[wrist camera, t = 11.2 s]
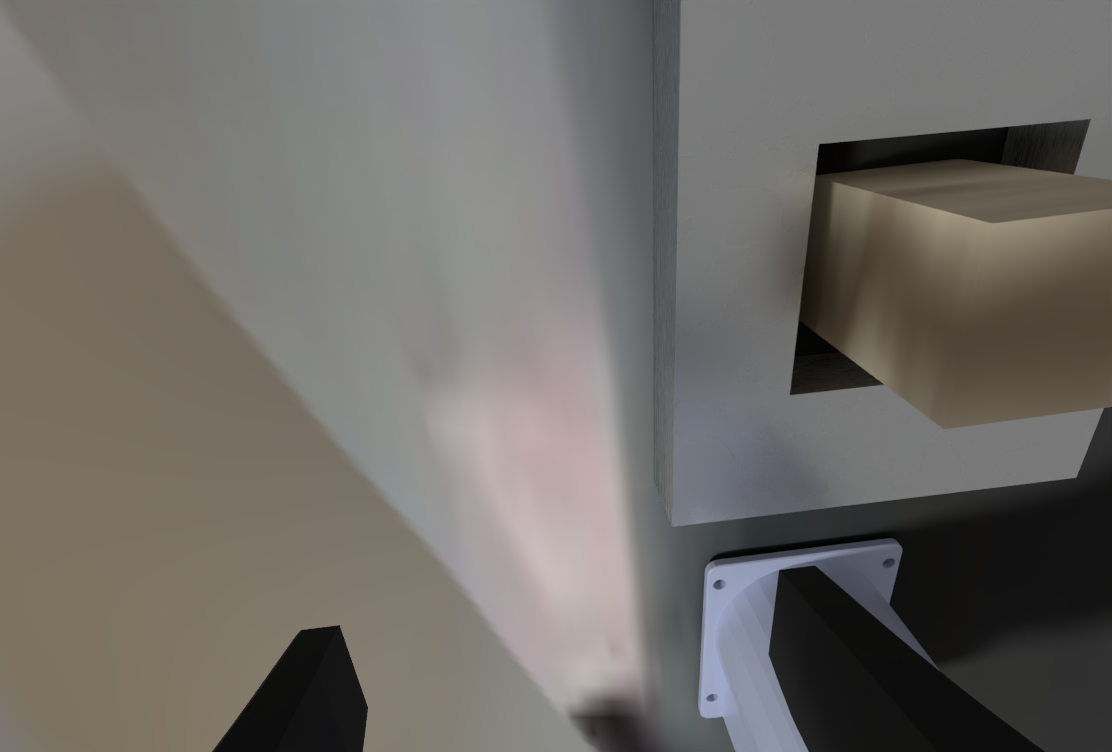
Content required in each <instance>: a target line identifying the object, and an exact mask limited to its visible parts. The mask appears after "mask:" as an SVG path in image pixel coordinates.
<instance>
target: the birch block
mask: <svg viewBox="0 0 1112 752" xmlns="http://www.w3.org/2000/svg"><path fill="white" fill-rule="evenodd" d="M799 321H801V322H802V323H803V324H805V325H806V326H807V327H809V328H810V329H811V330H812V331H814V332H815V333H816V334H818V335H819V336H820V337H822V338H823V339H824V340H826V341H827V342H828V343H830V344H831V345H832V346H834V347H835V348H836V349H838V350H839V351H840V352H842V353H843V354H844V355H846V356H847V357H848V358H850V359H851V360H852V361H854V362H855V363H856V364H858V365H859V366H860V367H862V368H863V369H864V370H866V371H867V372H868V373H870V374H871V375H872V376H874V377H875V378H876V379H878V380H879V381H880V382H882V383H883V384H884V385H886V386H887V387H888V388H890V389H891V390H892V391H894V392H895V393H896V394H898V395H899V396H900V397H902V398H903V399H904V400H906V401H907V402H908V403H909V404H911V405H912V406H913V407H915V408H916V409H917V410H919V411H920V412H921V413H923V414H924V415H925V416H927V417H928V418H929V419H931V420H932V421H933V422H935V423H936V424H937V425H939V426H940V427H941V428H943V429H950V428H958V427H965V426H973V425H980V424H987V423H995V422H1002V421H1010V420H1017V419H1024V418H1032V417H1039V416H1047V415H1054V414H1062V413H1069V412H1076V411H1084V410H1091V409H1099V408H1106V407H1112V180H1108V179H1101V178H1094V177H1087V176H1080V175H1072V174H1065V173H1058V172H1051V171H1044V170H1036V169H1029V168H1022V167H1015V166H1008V165H1000V164H993V163H986V162H979V161H972V160H965V159H951V160H943V161H934V162H926V163H917V164H909V165H900V166H892V167H883V168H875V169H866V170H858V171H850V172H841V173H833V174H824V175H816V176H815V183H814V191H813V200H812V208H811V217H810V226H809V234H808V243H807V251H806V260H805V268H804V277H803V286H802V294H801V303H800V311H799Z"/></svg>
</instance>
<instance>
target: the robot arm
mask: <svg viewBox="0 0 1112 752" xmlns="http://www.w3.org/2000/svg"><path fill="white" fill-rule="evenodd" d="M901 555H902V547H901V545H900V544H899V543H898V542H897V541H896V540H895V539H892V538H887V539H878V540H870V541H862V542H854V543H846V544H838V545H830V546H822V547H814V548H806V549H798V550H790V551H782V552H774V553H766V554H758V555H750V556H742V557H734V558H726V559H718V560H714V561H712V562H710V563H709V564H708V565H707V566H706V569H705V580H704V600H703V620H702V640H701V660H700V680H699V700H698V707H699V711H700V714H701V715H702V716H703V717H705V718H715V717H722V716H723V718H724V721H725V724H726V726H727V729H728V732H729V735H730V738H731V740H732V743H733V746H734V749H735V751H736V752H1044V751H1043V750H1042V749H1040V748H1039V747H1038V746H1036V745H1035V744H1033V743H1032V742H1031V741H1029V740H1028V739H1027V738H1025V737H1024V736H1023V735H1021V734H1020V733H1019V732H1017V731H1016V730H1015V729H1013V728H1012V727H1011V726H1009V725H1008V724H1007V723H1005V722H1004V721H1003V720H1002V719H1000V718H999V717H998V716H996V715H995V714H994V713H992V712H991V711H990V710H988V709H987V708H986V707H984V706H983V705H982V704H981V703H979V702H978V701H977V700H975V699H974V698H973V697H972V696H970V695H969V694H968V693H967V692H965V691H964V690H963V689H961V688H960V687H959V686H958V685H956V684H955V683H954V682H953V681H952V680H950V679H949V678H948V677H947V676H945V675H944V674H943V673H942V672H940V670H939V669H938V668H937V666H936V665H935V664H934V662H933V661H932V660H931V658H930V657H929V656H928V655H927V653H926V652H925V651H924V649H923V648H922V647H921V645H920V644H919V643H918V641H917V640H916V639H915V638H914V636H913V635H912V634H911V632H910V631H909V630H908V628H907V627H906V626H905V624H904V623H903V622H902V621H901V619H900V618H899V617H898V615H897V614H896V613H895V611H894V610H893V609H892V608H891V606H890V605H889V603H890V599H891V595H892V591H893V587H894V583H895V579H896V575H897V571H898V567H899V563H900V559H901ZM717 580H720V581H718V582H716V581H717ZM367 711H368V707H367V704H366V701H365V698H364V695H363V692H362V689H361V686H360V683H359V681H358V678H357V675H356V672H355V669H354V666H353V663H352V660H351V657H350V654H349V651H348V649H347V646H346V643H345V640H344V637H343V634H342V631H341V629H340V626H331V627H323V628H315V629H307V630H301V631H300V632H299V633H298V634H297V635H296V637H295V638H294V639H293V641H292V642H291V644H290V645H289V646H288V648H287V649H286V651H285V652H284V653H283V655H282V656H281V658H280V659H279V661H278V662H277V663H276V665H275V666H274V668H273V669H272V670H271V672H270V673H269V675H268V676H267V677H266V679H265V680H264V682H263V683H262V684H261V686H260V687H259V689H258V690H257V691H256V693H255V694H254V696H253V697H252V698H251V700H250V701H249V703H248V704H247V705H246V707H245V708H244V709H243V711H242V712H241V714H240V715H239V716H238V718H237V719H236V720H235V722H234V723H233V725H232V726H231V727H230V729H229V730H228V731H227V733H226V734H225V735H224V737H223V738H222V739H221V741H220V742H219V743H218V745H217V746H216V747H215V749H214V750H213V751H212V752H363V744H364V737H365V728H366V720H367Z"/></svg>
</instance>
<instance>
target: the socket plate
mask: <svg viewBox="0 0 1112 752" xmlns="http://www.w3.org/2000/svg"><path fill="white" fill-rule="evenodd" d="M653 105H654V482H655V485H656V487H657V490H658V492H659V495H660V497H661V500H662V502H663V505H664V507H665V509H666V512H667V514H668V517H669V519H670V522H671V524H672V527H674V526H682V525H691V524H699V523H707V522H715V521H724V520H732V519H740V518H748V517H756V516H765V515H773V514H781V513H789V512H798V511H806V510H814V509H822V508H830V507H839V506H847V505H855V504H863V503H872V502H880V501H888V500H896V499H904V498H913V497H921V496H929V495H937V494H946V493H954V492H962V491H970V490H978V489H987V488H995V487H1003V486H1011V485H1020V484H1028V483H1036V482H1044V481H1052V480H1061V479H1069V478H1076V477H1077V474H1078V472H1079V469H1080V467H1081V464H1082V462H1083V459H1084V457H1085V454H1086V452H1087V449H1088V446H1089V444H1090V441H1091V439H1092V436H1093V434H1094V431H1095V429H1096V426H1097V424H1098V421H1099V419H1100V416H1101V414H1102V411H1103V408H1099V409H1091V410H1084V411H1076V412H1069V413H1062V414H1054V415H1047V416H1039V417H1032V418H1024V419H1017V420H1010V421H1002V422H995V423H987V424H980V425H973V426H965V427H958V428H950V429H943V428H941V427H940V426H939V425H937V424H936V423H935V422H933V421H932V420H931V419H929V418H928V417H927V416H925V415H924V414H923V413H921V412H920V411H919V410H917V409H916V408H915V407H913V406H912V405H911V404H909V403H908V402H907V401H906V400H904V399H903V398H902V397H900V396H899V395H898V394H896V393H895V392H894V391H892V390H891V389H890V388H888V387H887V386H886V385H884V384H883V383H882V382H880V381H879V380H878V379H876V378H875V377H874V376H872V375H871V374H870V373H868V372H867V371H866V370H864V369H863V368H862V367H860V366H859V365H858V364H856V363H855V362H854V361H852V360H851V359H850V358H848V357H847V356H846V355H844V354H843V353H842V352H832V353H823V354H814V355H805V356H796V357H794V354H795V346H796V337H797V329H798V320H799V311H800V303H801V294H802V286H803V277H804V268H805V260H806V251H807V243H808V234H809V226H810V217H811V208H812V200H813V191H814V183H815V174H816V165H817V157H818V148H819V144H825V143H836V142H846V141H857V140H868V139H879V138H890V137H901V136H912V135H923V134H933V133H944V132H955V131H966V130H977V129H988V128H999V127H1009V128H1008V132H1007V136H1006V140H1005V144H1004V148H1003V152H1002V156H1001V160H1000V165H1008V166H1015V167H1022V168H1029V169H1036V170H1044V171H1051V172H1058V173H1065V174H1072V175H1080V176H1087V177H1094V178H1101V179H1108V180H1112V0H653Z"/></svg>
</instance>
